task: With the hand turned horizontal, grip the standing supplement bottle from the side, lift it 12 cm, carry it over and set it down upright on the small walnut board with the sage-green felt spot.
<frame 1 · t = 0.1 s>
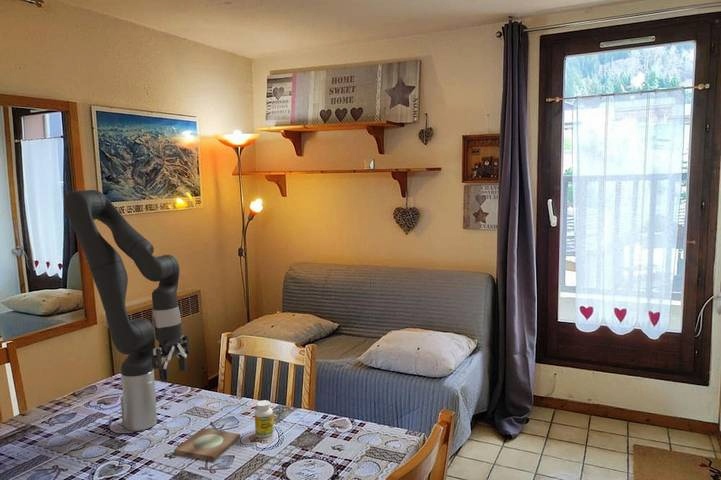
hand: (174, 375, 158), 17 cm above the table, tool pointing down, fingers open, 8 cm apart
supplement bottle: (264, 434, 157), on the table
walnut board: (208, 445, 150), on the table
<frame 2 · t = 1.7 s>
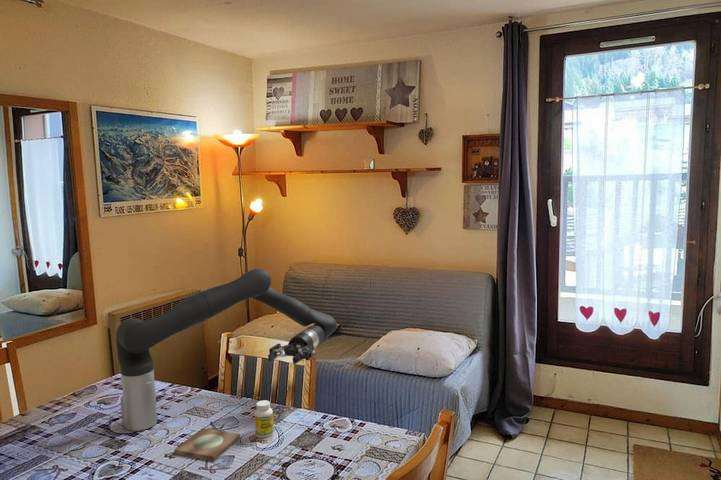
hand: (281, 359, 165), 19 cm above the table, tool horizontal, fingers open, 8 cm apart
nothing on the table moved.
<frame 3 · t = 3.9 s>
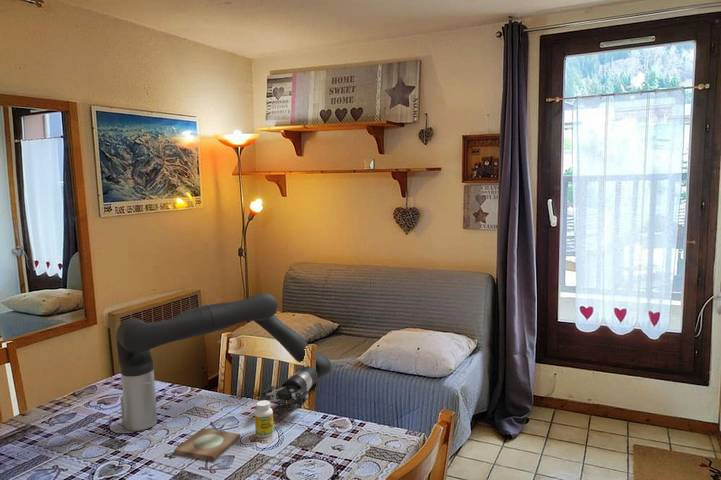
hand: (274, 405, 163), 6 cm above the table, tool horizontal, fingers open, 8 cm apart
nothing on the table moved.
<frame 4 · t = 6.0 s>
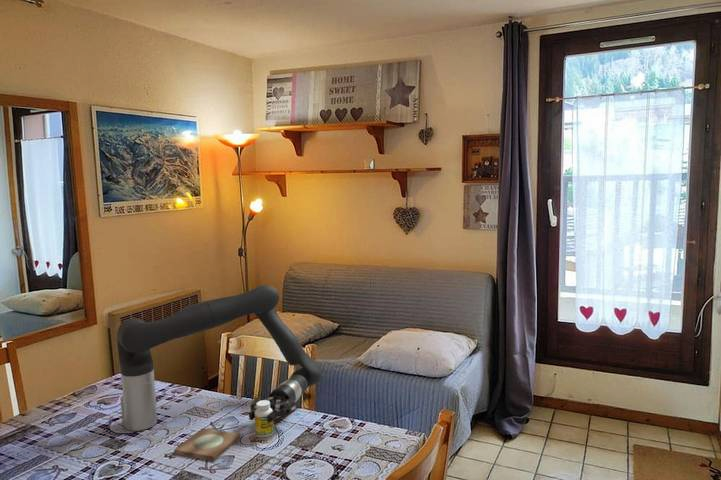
hand: (259, 418, 154), 6 cm above the table, tool horizontal, fingers closed on supplement bottle, 5 cm apart
supplement bottle: (264, 434, 157), on the table, touching gripper
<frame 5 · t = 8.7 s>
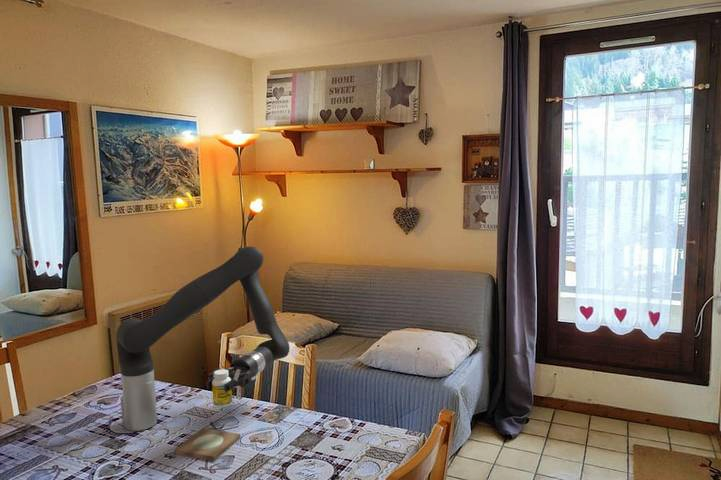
hand: (216, 387, 148), 18 cm above the table, tool horizontal, fingers closed on supplement bottle, 5 cm apart
supplement bottle: (222, 404, 151), point 11 cm above the table, touching gripper
when the fingers open (8 cm above the table, at t = 11.3 s): supplement bottle drops 1 cm, resting on walnut board.
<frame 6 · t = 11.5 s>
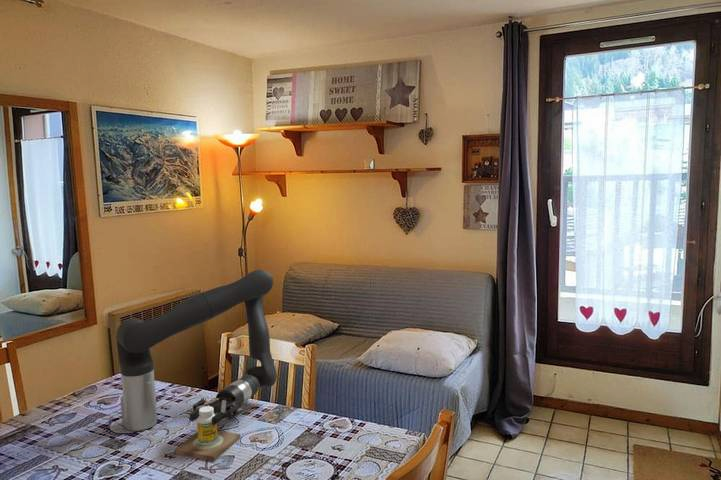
hand: (201, 419, 147), 9 cm above the table, tool horizontal, fingers open, 6 cm apart
supplement bottle: (208, 441, 151), point 1 cm above the table, touching walnut board
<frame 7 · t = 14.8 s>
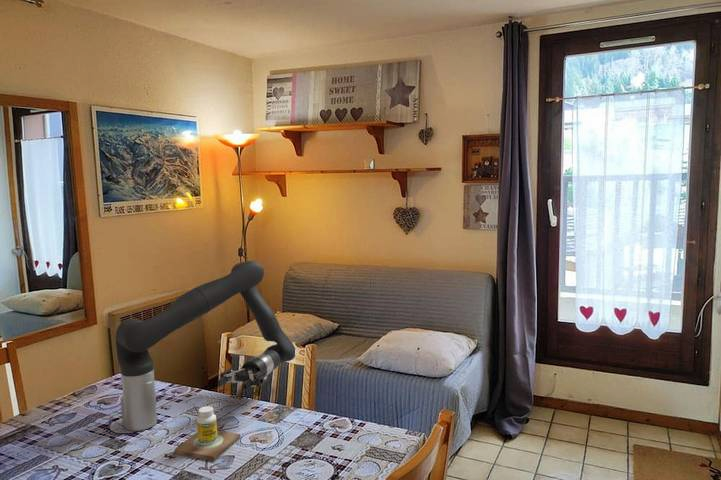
hand: (230, 385, 161), 13 cm above the table, tool horizontal, fingers open, 8 cm apart
nothing on the table moved.
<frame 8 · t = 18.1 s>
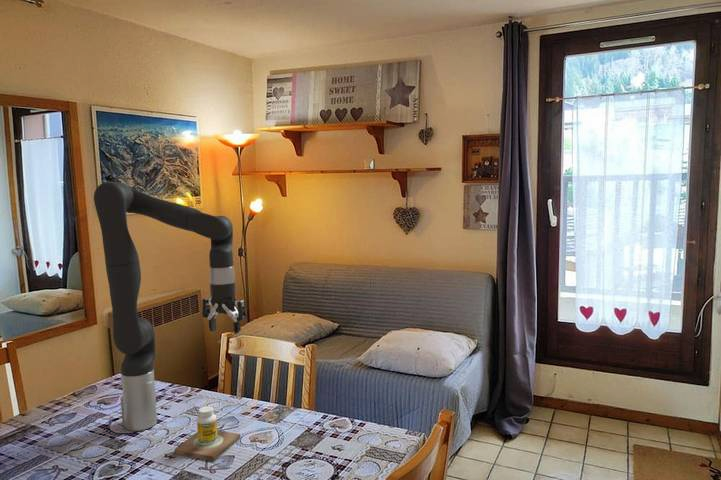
hand: (225, 332, 164), 28 cm above the table, tool pointing down, fingers open, 8 cm apart
nothing on the table moved.
at the end: supplement bottle inside the target area on the walnut board (0.2 cm from its centre), point 1.1 cm above the walnut board's base; supplement bottle tilted 0°; the gripper is holding nothing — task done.
